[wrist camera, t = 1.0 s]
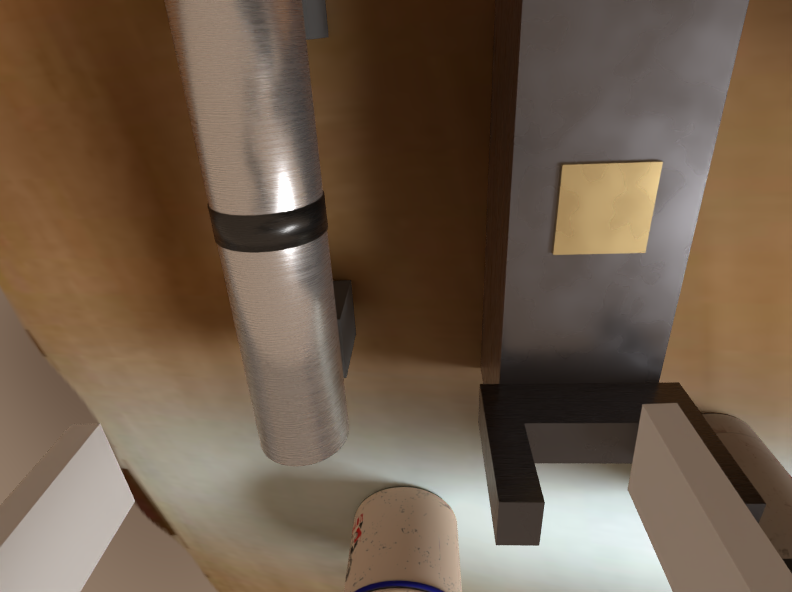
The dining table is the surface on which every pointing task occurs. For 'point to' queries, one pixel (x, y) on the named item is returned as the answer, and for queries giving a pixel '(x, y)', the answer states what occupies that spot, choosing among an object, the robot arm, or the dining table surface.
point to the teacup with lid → (404, 544)
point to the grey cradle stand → (592, 230)
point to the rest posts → (343, 289)
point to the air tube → (267, 212)
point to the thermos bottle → (760, 477)
